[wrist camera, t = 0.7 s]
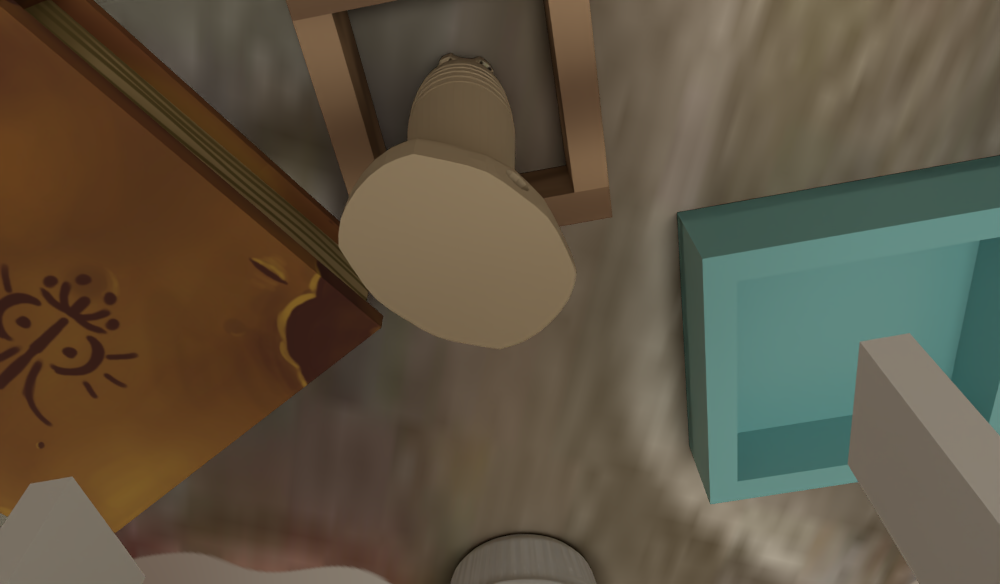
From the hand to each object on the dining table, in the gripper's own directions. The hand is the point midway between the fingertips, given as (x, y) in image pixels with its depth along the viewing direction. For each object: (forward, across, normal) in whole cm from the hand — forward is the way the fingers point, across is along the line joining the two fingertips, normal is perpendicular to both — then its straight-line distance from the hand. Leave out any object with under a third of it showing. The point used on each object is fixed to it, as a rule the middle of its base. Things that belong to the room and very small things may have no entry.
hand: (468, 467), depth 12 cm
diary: (+23, -20, -6) cm, 32 cm away
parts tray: (+23, +16, -16) cm, 33 cm away
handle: (+23, 0, 0) cm, 23 cm away
